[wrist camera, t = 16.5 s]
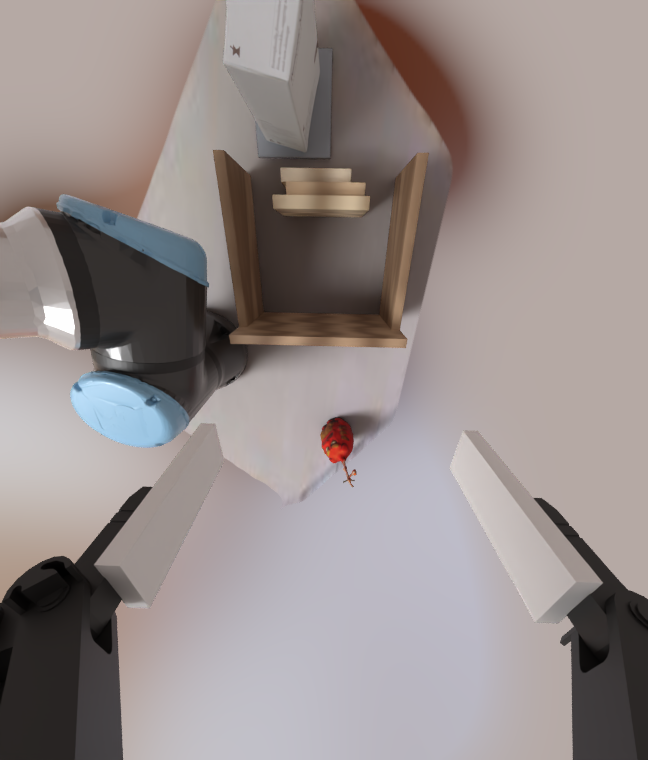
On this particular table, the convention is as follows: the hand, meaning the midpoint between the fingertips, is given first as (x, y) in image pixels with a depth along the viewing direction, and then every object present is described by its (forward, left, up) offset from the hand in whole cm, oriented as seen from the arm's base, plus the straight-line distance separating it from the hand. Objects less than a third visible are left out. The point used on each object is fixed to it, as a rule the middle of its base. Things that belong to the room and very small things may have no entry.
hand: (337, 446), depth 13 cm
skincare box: (-6, +26, -34) cm, 44 cm away
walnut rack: (-2, +8, -35) cm, 36 cm away
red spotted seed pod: (+2, -27, -35) cm, 44 cm away
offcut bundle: (-2, +16, -35) cm, 39 cm away
